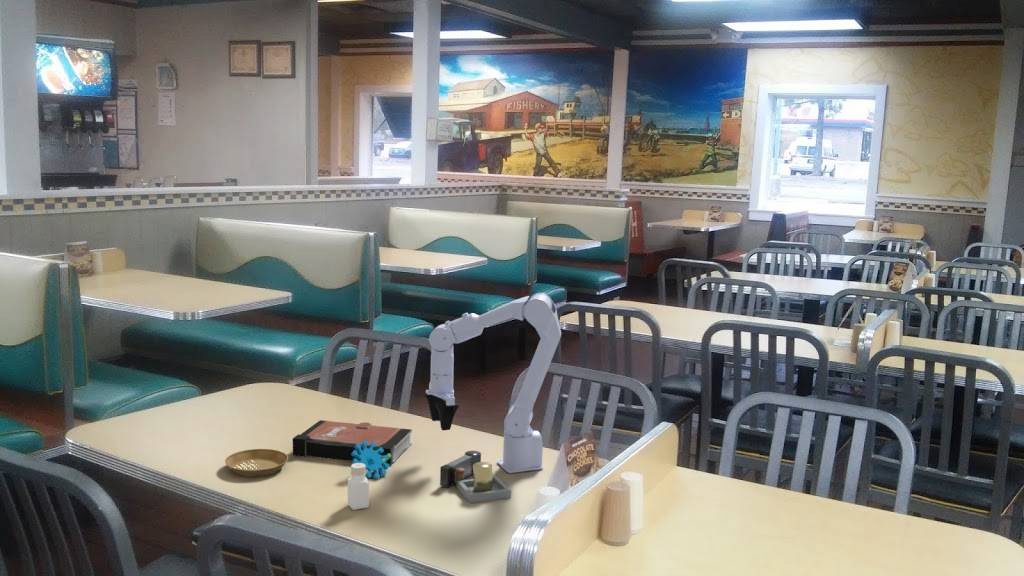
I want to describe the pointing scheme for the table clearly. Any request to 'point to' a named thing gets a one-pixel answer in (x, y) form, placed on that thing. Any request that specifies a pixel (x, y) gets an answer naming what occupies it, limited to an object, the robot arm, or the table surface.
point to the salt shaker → (358, 487)
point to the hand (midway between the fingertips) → (440, 425)
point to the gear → (371, 459)
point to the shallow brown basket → (257, 461)
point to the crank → (463, 462)
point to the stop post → (459, 475)
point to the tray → (497, 493)
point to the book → (350, 440)
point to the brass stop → (482, 477)
